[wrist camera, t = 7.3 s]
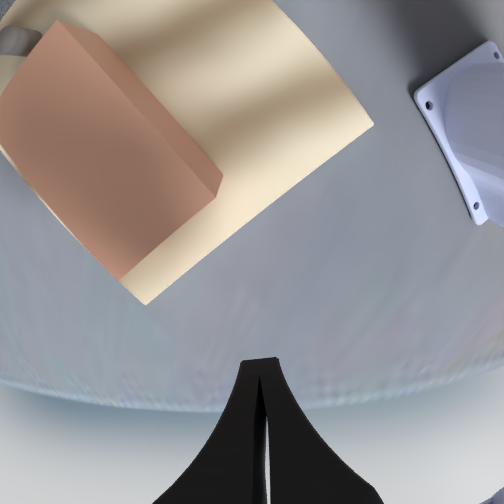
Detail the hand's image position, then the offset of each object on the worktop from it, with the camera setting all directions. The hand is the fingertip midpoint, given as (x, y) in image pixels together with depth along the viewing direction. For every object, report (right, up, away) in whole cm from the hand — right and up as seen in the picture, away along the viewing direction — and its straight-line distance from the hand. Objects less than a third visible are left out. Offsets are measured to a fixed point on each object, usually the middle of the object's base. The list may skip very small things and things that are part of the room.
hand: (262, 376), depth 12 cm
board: (-7, +14, +2) cm, 15 cm away
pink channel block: (-7, +10, +2) cm, 13 cm away
